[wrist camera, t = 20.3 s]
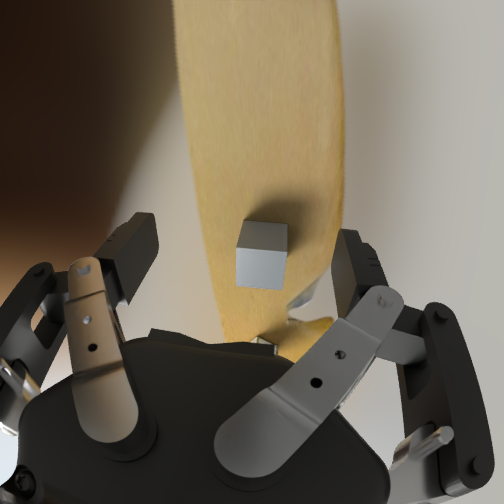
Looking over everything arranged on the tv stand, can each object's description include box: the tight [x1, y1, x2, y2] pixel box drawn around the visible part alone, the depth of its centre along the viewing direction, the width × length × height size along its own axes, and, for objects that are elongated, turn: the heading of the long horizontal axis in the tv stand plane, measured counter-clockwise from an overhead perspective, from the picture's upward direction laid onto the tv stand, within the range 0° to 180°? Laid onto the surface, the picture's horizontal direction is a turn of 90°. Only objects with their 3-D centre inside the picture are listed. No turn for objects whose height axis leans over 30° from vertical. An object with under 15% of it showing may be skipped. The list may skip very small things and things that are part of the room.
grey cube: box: [236, 220, 288, 290], centre depth 43 cm, size 7×7×7 cm
